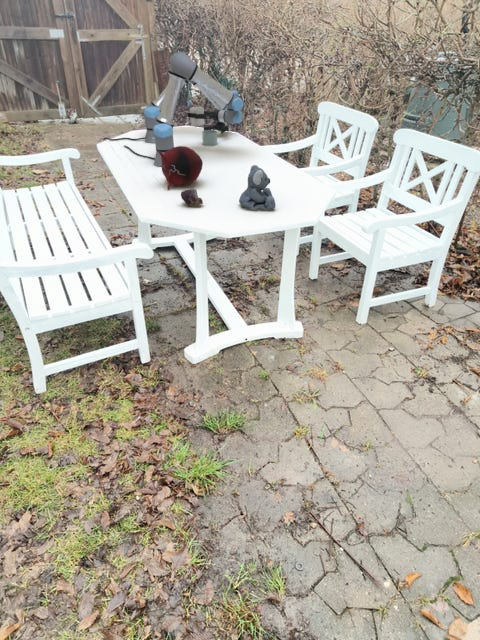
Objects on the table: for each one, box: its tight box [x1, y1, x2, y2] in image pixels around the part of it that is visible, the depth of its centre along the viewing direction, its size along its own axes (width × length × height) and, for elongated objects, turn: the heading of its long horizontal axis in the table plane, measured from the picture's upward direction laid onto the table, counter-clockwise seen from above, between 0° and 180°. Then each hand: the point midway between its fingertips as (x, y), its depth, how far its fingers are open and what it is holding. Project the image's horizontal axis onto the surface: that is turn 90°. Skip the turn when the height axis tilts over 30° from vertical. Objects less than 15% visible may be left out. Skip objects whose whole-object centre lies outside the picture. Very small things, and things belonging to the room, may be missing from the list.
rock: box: [180, 188, 204, 207], centre depth 229 cm, size 12×9×10 cm
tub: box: [201, 130, 218, 147], centre depth 335 cm, size 11×11×9 cm
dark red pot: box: [158, 145, 203, 191], centre depth 255 cm, size 21×24×25 cm
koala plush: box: [238, 164, 276, 211], centre depth 224 cm, size 17×18×20 cm
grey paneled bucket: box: [189, 106, 206, 127], centre depth 311 cm, size 10×10×10 cm
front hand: (192, 113), depth 312 cm, fingers closed on grey paneled bucket, 10 cm apart
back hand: (212, 131), depth 339 cm, fingers open, 13 cm apart
